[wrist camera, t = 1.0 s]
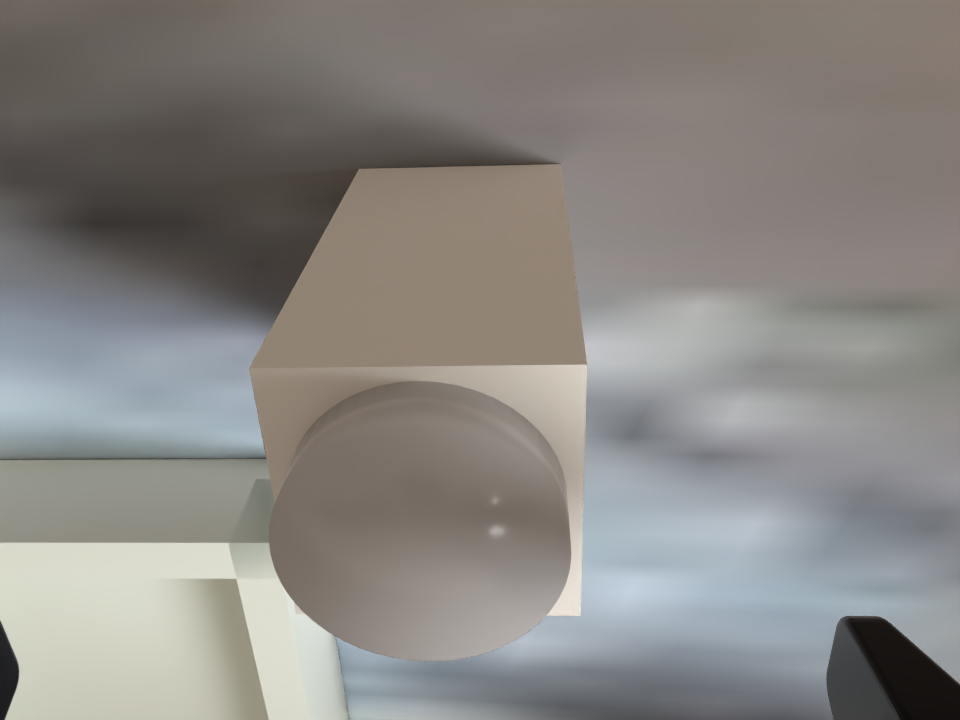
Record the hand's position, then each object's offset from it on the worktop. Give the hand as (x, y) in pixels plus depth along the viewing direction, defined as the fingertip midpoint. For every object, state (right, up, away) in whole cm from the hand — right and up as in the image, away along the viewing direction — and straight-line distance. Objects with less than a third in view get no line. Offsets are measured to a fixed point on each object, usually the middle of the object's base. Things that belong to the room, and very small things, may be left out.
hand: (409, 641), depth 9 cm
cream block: (0, +5, +9) cm, 10 cm away
